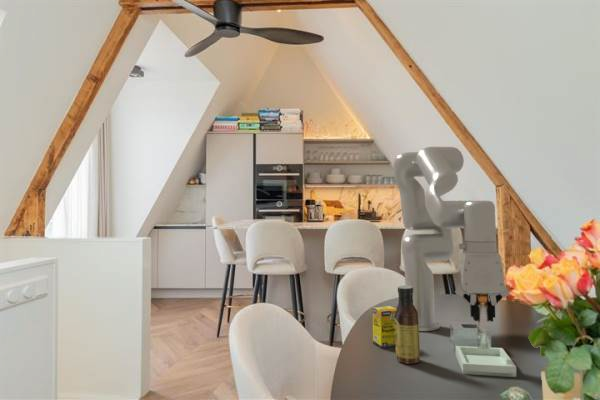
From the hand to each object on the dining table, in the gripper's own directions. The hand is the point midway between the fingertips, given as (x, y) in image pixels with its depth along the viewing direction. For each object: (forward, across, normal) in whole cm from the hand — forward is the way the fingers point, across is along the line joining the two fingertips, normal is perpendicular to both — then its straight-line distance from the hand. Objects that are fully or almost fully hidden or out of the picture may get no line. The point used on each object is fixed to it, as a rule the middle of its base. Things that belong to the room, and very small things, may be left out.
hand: (482, 319), depth 111 cm
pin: (+7, 0, 0) cm, 7 cm away
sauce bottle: (+12, -19, 0) cm, 23 cm away
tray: (+12, 0, 0) cm, 12 cm away
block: (+12, -1, +15) cm, 19 cm away
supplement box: (+12, -25, +13) cm, 31 cm away
